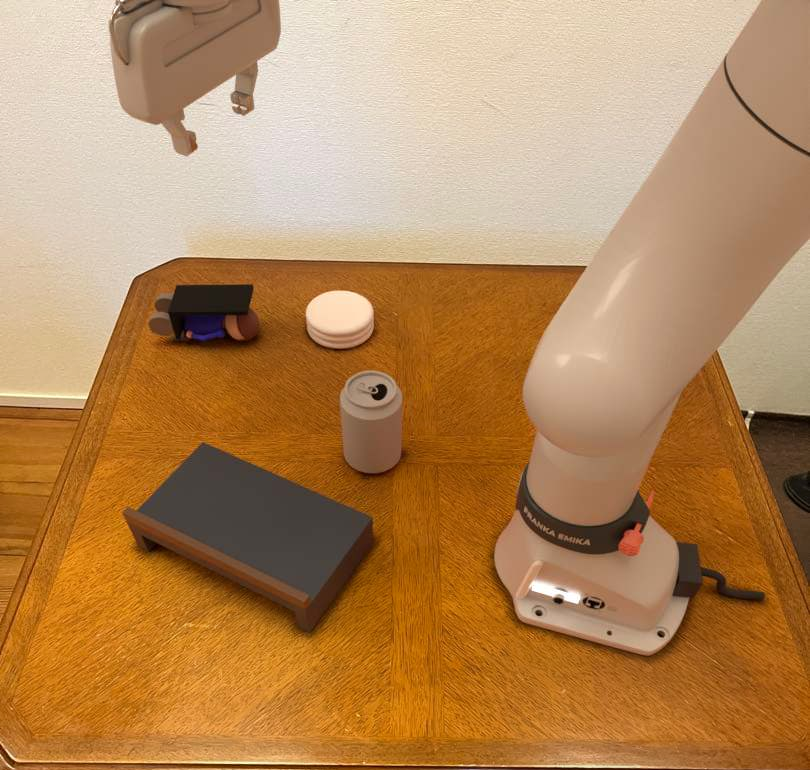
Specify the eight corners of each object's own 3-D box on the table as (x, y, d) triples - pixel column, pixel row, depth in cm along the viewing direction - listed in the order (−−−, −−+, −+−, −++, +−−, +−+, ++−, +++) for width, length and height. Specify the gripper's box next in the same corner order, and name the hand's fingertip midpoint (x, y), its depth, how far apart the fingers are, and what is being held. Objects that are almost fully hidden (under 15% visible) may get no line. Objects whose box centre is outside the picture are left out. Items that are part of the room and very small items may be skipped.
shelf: (373, 542, 88) (372, 508, 83) (310, 633, 81) (304, 602, 75) (210, 468, 94) (199, 432, 89) (138, 546, 87) (121, 512, 82)
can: (394, 482, 93) (395, 413, 84) (337, 472, 94) (331, 403, 84) (406, 440, 98) (408, 370, 88) (351, 431, 99) (347, 361, 89)
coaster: (297, 342, 109) (294, 323, 106) (321, 302, 115) (319, 283, 112) (361, 356, 107) (360, 337, 104) (382, 315, 113) (382, 296, 110)
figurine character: (160, 357, 109) (259, 350, 107) (140, 314, 102) (245, 306, 101) (169, 328, 112) (265, 321, 111) (150, 285, 106) (252, 277, 105)
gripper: (136, 13, 56) (175, 188, 67) (286, -63, 67) (298, 99, 78) (73, -6, 58) (121, 168, 69) (228, -77, 68) (248, 84, 80)
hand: (216, 131), depth 74 cm, fingers open, 8 cm apart
